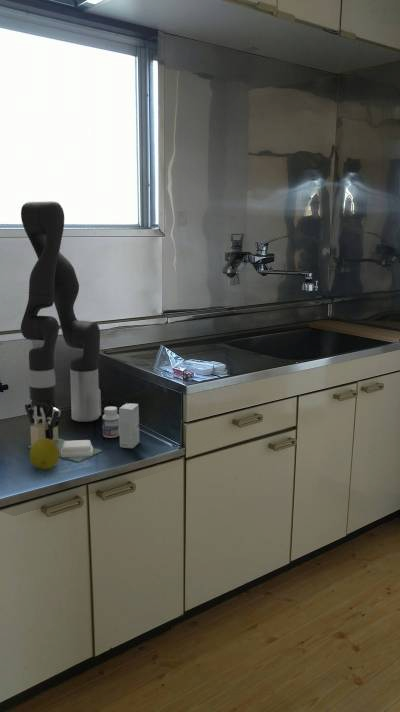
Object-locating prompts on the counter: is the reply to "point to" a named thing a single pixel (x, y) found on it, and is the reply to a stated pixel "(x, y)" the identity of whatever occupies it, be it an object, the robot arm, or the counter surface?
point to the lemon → (44, 454)
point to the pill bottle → (110, 422)
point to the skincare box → (129, 425)
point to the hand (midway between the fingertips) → (44, 438)
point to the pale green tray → (39, 433)
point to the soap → (76, 448)
